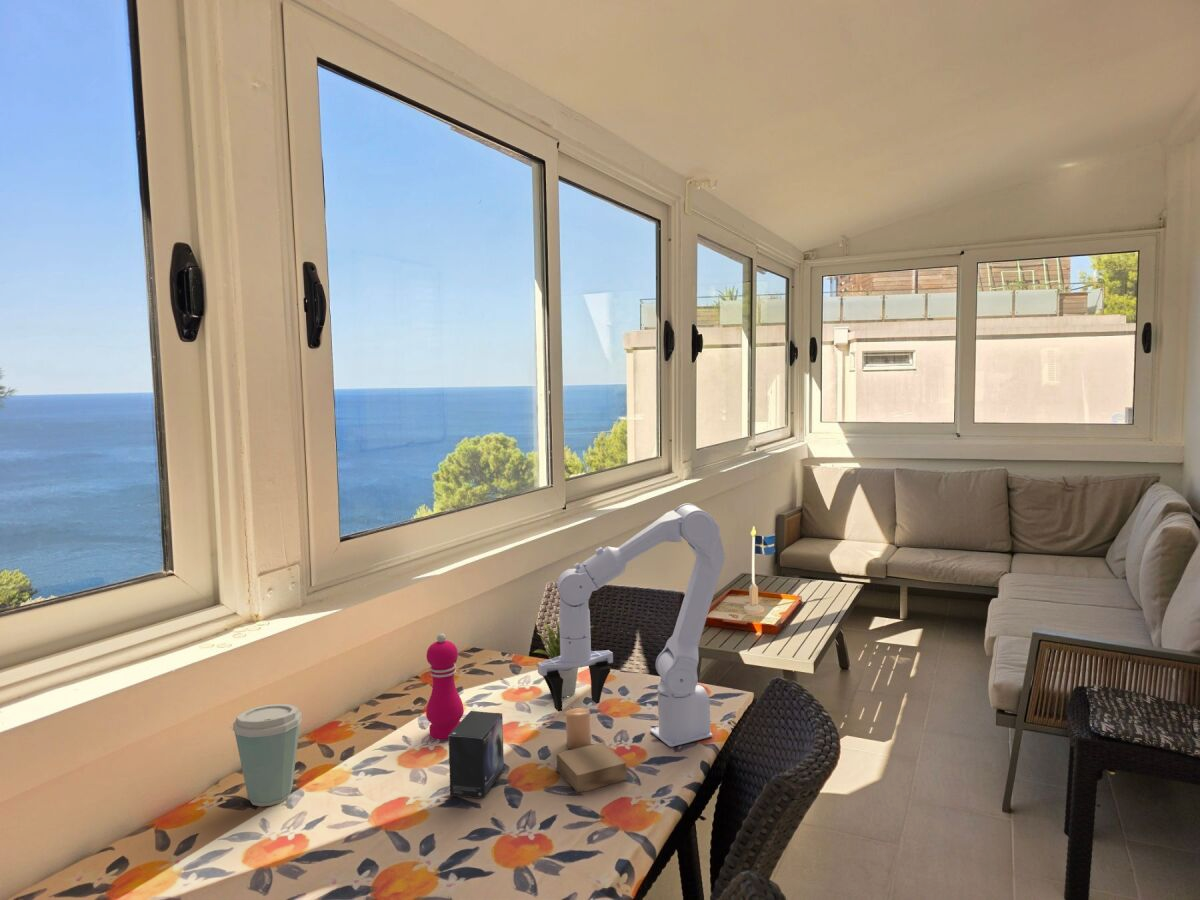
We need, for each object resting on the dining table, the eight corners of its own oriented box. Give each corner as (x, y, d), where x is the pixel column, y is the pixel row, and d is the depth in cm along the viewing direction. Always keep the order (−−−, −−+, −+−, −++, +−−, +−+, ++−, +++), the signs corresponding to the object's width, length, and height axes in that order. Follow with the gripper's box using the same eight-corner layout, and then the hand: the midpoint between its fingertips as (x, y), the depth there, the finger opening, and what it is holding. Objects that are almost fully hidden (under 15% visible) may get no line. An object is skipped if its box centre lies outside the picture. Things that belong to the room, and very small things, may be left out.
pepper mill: (419, 738, 153) (414, 637, 151) (440, 723, 159) (436, 626, 158) (451, 743, 150) (446, 641, 148) (471, 728, 157) (467, 629, 155)
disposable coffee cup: (238, 789, 135) (232, 704, 134) (305, 775, 139) (300, 693, 138) (236, 820, 125) (230, 728, 124) (308, 804, 129) (303, 715, 128)
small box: (486, 800, 129) (483, 737, 128) (448, 797, 130) (445, 735, 130) (506, 769, 139) (504, 711, 139) (471, 766, 141) (469, 709, 140)
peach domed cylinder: (585, 736, 151) (583, 706, 151) (595, 746, 147) (594, 714, 147) (562, 741, 149) (561, 711, 149) (572, 751, 145) (571, 720, 145)
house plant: (596, 707, 165) (594, 631, 164) (530, 709, 165) (527, 633, 164) (597, 682, 179) (595, 611, 178) (536, 683, 179) (534, 613, 178)
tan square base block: (603, 758, 142) (602, 742, 142) (626, 779, 134) (625, 762, 134) (557, 769, 138) (556, 753, 138) (577, 792, 130) (577, 775, 130)
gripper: (601, 623, 153) (602, 691, 154) (530, 634, 147) (533, 705, 148) (617, 632, 147) (619, 703, 148) (544, 645, 141) (547, 719, 142)
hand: (577, 705), depth 148 cm, fingers open, 7 cm apart
